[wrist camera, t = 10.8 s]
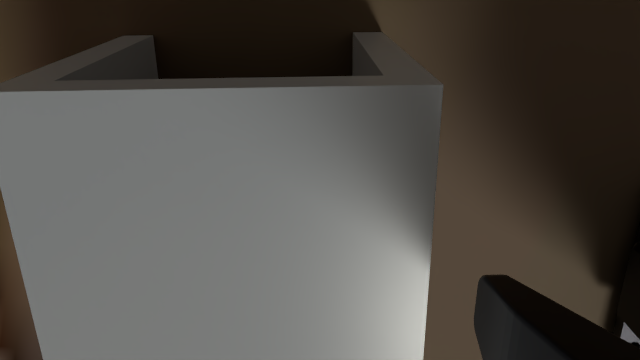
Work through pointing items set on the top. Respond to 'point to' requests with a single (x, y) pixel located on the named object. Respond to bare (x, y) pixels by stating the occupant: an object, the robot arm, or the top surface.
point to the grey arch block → (223, 207)
